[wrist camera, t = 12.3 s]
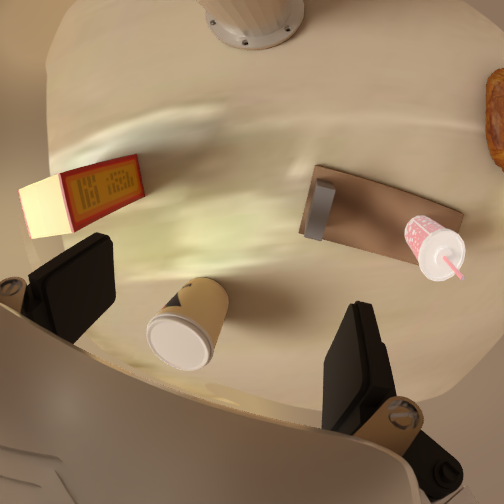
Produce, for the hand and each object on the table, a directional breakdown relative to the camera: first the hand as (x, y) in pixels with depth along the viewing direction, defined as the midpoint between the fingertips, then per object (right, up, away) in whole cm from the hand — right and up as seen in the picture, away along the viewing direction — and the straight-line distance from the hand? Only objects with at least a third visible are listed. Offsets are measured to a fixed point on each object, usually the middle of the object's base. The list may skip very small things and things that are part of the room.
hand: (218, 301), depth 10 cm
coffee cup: (-6, -5, +35) cm, 36 cm away
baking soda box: (-20, +13, +30) cm, 38 cm away
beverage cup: (+24, +5, +25) cm, 34 cm away
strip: (+19, +6, +25) cm, 32 cm away
